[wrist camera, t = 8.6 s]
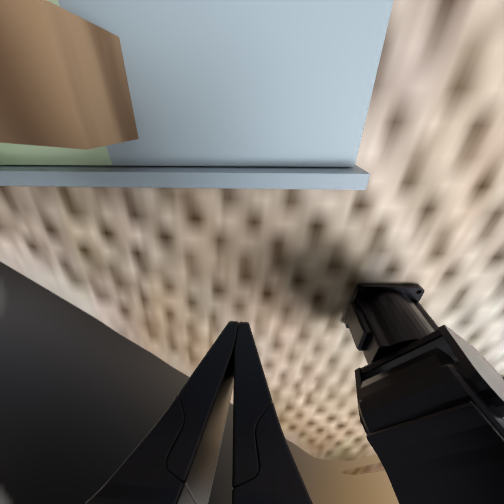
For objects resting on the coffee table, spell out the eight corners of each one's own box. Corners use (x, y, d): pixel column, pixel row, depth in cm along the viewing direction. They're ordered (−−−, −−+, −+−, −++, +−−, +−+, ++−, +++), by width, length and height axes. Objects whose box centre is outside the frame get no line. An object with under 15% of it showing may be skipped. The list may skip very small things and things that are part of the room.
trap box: (476, -388, 7) (656, -821, 4) (348, 176, 17) (368, 192, 14) (-245, -295, 9) (-563, -547, 5) (18, 173, 19) (-37, 187, 15)
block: (119, 36, 12) (38, -5, 8) (138, 138, 15) (86, 149, 10) (29, 30, 12) (-98, -14, 8) (65, 133, 15) (-15, 141, 11)
